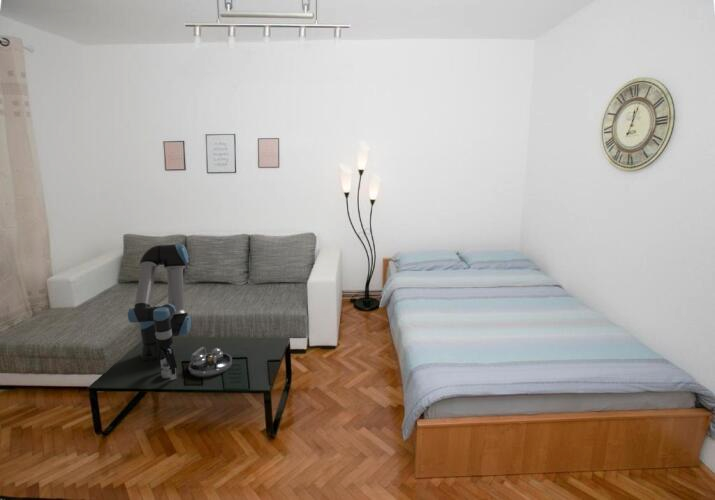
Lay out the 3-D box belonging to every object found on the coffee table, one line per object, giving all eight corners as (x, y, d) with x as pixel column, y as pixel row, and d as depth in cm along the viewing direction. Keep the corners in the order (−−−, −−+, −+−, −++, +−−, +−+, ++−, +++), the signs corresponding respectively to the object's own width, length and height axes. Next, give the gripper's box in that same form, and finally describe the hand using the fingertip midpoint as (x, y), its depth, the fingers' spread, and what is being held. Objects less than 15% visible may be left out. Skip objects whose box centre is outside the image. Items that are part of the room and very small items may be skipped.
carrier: (183, 367, 217) (181, 353, 216) (220, 353, 232) (219, 341, 231) (200, 382, 202) (198, 367, 200) (239, 366, 217) (238, 353, 215)
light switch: (191, 368, 215) (190, 355, 213) (204, 358, 226) (202, 345, 225) (194, 369, 215) (192, 355, 213) (206, 358, 226) (205, 346, 224)
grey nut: (160, 374, 209) (158, 364, 208) (173, 370, 214) (172, 360, 213) (164, 379, 205) (163, 369, 203) (178, 374, 209) (176, 364, 208)
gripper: (148, 332, 211) (153, 369, 215) (165, 346, 194) (170, 386, 198) (163, 328, 216) (167, 364, 220) (180, 342, 199) (185, 380, 203)
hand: (168, 374), depth 209 cm, fingers open, 12 cm apart
